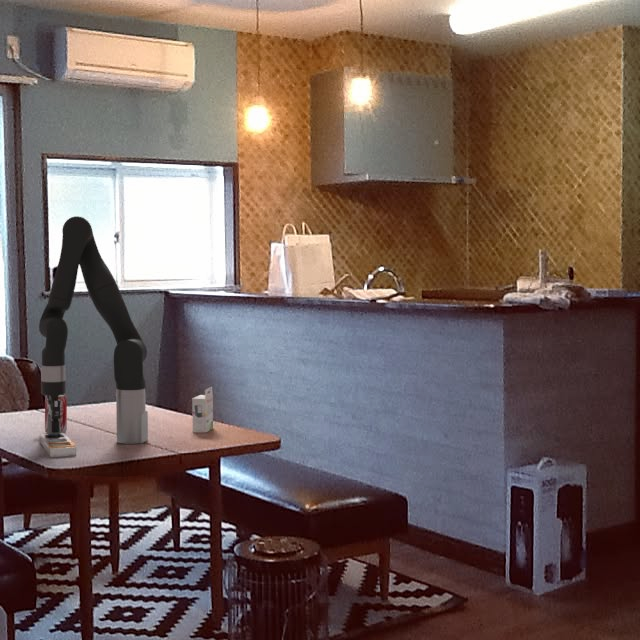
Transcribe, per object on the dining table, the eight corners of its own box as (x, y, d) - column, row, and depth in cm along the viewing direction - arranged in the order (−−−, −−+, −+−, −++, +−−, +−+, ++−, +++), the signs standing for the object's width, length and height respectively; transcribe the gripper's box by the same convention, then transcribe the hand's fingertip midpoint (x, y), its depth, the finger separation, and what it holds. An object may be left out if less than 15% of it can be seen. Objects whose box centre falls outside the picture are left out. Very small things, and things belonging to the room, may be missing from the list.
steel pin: (63, 443, 320) (62, 415, 320) (57, 445, 316) (57, 417, 316) (51, 442, 321) (50, 414, 320) (45, 444, 317) (45, 416, 316)
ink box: (199, 428, 349) (199, 385, 348) (213, 428, 348) (213, 386, 347) (191, 432, 340) (191, 389, 339) (205, 433, 339) (205, 389, 338)
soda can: (45, 431, 340) (44, 393, 339) (67, 431, 342) (66, 393, 341) (44, 435, 333) (44, 396, 332) (66, 434, 335) (66, 396, 334)
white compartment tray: (40, 441, 322) (40, 433, 322) (64, 440, 325) (64, 431, 325) (50, 457, 298) (50, 448, 298) (76, 455, 301) (76, 446, 300)
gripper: (68, 381, 312) (68, 433, 313) (62, 376, 326) (63, 425, 327) (43, 382, 310) (43, 434, 311) (38, 377, 323) (39, 427, 324)
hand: (53, 430), depth 319 cm, fingers open, 8 cm apart
